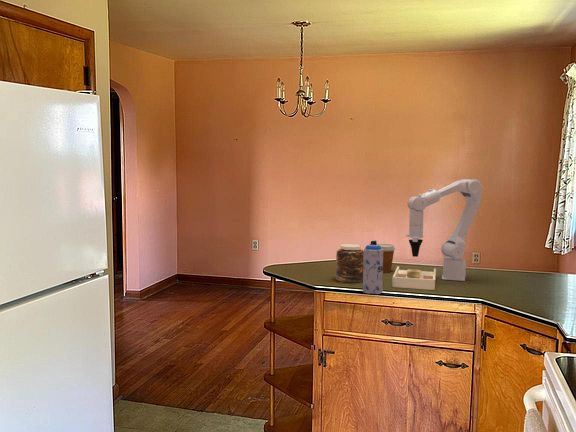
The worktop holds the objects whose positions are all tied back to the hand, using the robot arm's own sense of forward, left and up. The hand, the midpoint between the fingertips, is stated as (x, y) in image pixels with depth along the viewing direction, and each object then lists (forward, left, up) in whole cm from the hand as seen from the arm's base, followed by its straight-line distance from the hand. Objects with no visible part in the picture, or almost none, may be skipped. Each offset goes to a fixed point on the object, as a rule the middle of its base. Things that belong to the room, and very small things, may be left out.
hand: (415, 256), depth 227 cm
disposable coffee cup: (+15, -16, -11) cm, 24 cm away
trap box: (0, +4, -10) cm, 11 cm away
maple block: (0, +12, -8) cm, 14 cm away
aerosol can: (+15, +26, -11) cm, 31 cm away
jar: (+27, +8, -11) cm, 30 cm away
